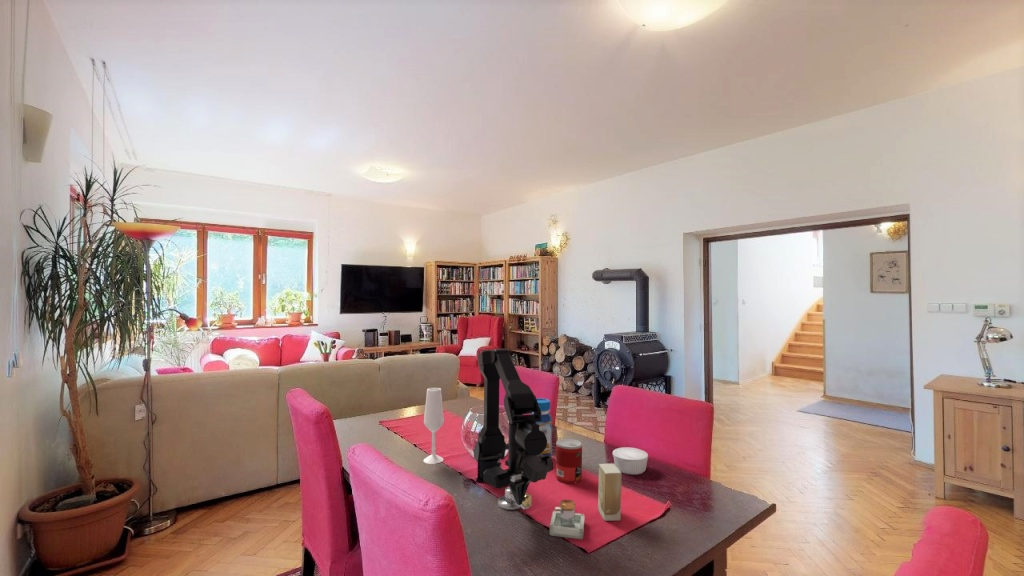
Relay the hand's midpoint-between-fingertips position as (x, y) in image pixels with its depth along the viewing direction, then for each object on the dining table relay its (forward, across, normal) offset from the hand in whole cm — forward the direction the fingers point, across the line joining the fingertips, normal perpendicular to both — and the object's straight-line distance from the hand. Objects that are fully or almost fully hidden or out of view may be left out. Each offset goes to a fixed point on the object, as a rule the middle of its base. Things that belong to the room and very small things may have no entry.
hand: (519, 504), depth 109 cm
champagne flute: (+4, +3, +48) cm, 49 cm away
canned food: (+4, +29, +10) cm, 31 cm away
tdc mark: (+4, +13, -2) cm, 14 cm away
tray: (+4, +7, -10) cm, 13 cm away
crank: (+4, +3, +5) cm, 7 cm away
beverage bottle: (+4, +33, +27) cm, 43 cm away
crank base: (+4, +4, +8) cm, 10 cm away
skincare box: (+5, +20, -12) cm, 24 cm away
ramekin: (+5, +50, +3) cm, 50 cm away
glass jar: (+4, +7, -10) cm, 13 cm away
